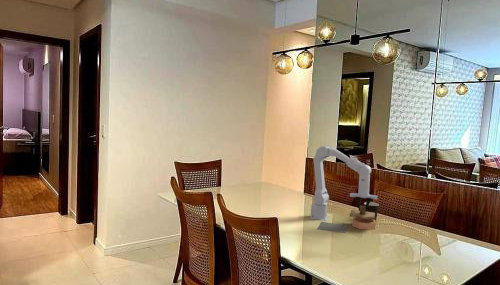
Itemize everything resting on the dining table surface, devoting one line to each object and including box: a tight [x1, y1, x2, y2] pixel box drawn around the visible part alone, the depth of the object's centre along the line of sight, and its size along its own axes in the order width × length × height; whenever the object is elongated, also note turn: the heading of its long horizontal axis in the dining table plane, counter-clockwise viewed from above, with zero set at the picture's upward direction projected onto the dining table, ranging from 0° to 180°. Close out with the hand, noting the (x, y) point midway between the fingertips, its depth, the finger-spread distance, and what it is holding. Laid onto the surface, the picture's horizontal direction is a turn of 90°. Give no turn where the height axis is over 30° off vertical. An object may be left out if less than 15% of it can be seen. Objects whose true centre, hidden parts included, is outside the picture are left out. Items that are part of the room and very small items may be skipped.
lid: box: [349, 205, 375, 220], centre depth 200 cm, size 13×13×5 cm
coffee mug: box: [362, 201, 380, 221], centre depth 215 cm, size 12×9×10 cm
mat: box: [316, 221, 349, 234], centre depth 197 cm, size 15×15×1 cm
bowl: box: [352, 217, 377, 231], centre depth 201 cm, size 12×12×4 cm
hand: (362, 210), depth 200 cm, fingers closed on lid, 3 cm apart
